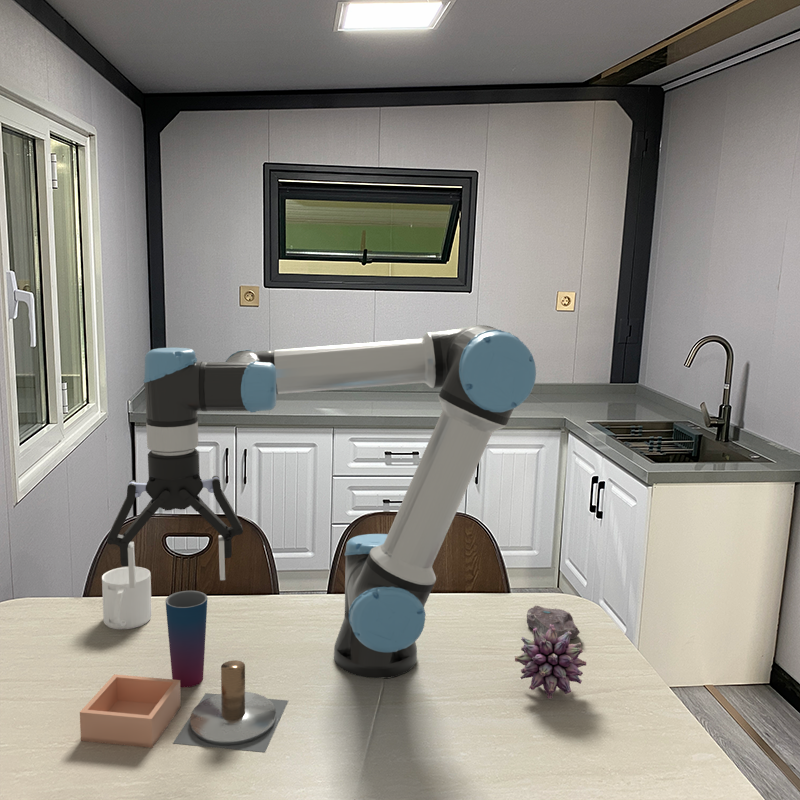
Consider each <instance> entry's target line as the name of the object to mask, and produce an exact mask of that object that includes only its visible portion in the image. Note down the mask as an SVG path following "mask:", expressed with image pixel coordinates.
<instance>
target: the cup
mask: <svg viewBox="0 0 800 800" xmlns="http://www.w3.org/2000/svg"><path fill="white" fill-rule="evenodd" d="M207 611H208V596H207V594H206V593H204V592H201V591H199V590H183V591H178V592H174V593H172V594H170V595H169V596H167V597H166V598H165V612H166V621H167V622H166V623H167V635H168V643H169V644H168V645H169V647H168V648H169V655H170V667H171V679H173V680H180V688H192V687H195V686H198V685H200V684H201V683H202V682H203V680H204V671H205V653H206V652H205V651H206V634H207V630H206V629H207V615H208V612H207Z"/></svg>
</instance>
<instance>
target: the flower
mask: <svg viewBox="0 0 800 800" xmlns="http://www.w3.org/2000/svg"><path fill="white" fill-rule="evenodd" d="M532 633H533V640H532V639H528V638H525V637H523V636H521V639H520V640H521V641H522V642H523V645H522V646H521V648H520V651H522V652H523V653H522V654H520V655H514V662H517V663H518V662H519V664H521V665H523V666H524V667H523V668H522V669H520V672H521V674H522V675H521V676H520V679H521V680H523V679H527V678H528V679H529V678H531V682H530V686H529V687H528V689H529V690H531V691H533V690H535V689H536V688H539V687H541V686H543V689H544V693H545V694H546V698H547V699H548V700H549V699H551V700H552V699H553V695H554V693H555V692H556V690H557V688H558V689H559V690H561V691H563V694H566V695H567V694H569V693H571V692H572V689H571V685H570V684H571V683H570V682H573V683H574V682H576V683H578V684H582V682H583V680H582V679H581V678H580V677H581V676H582V675H583V671H581V670H580V669H579V668H581V667H584V666H587V661H585V660H583V659H580V658H579V656H580V655H581V654H582V653H583V652H584V651H583V648H582V643H581V642H578V643H570V641H571V639H570V636H571V634H572V633H571V632H569V631H568V632H566V633H565V634H564V635H562V636H560V637H559V638H558V637H557V633H556V629H555V628H554V625H551V624H550V628H549V630H548V631H547V633H546V637H545V635H544V634H542V633H541V632H539V631H538V629H537V628H535V629H532Z"/></svg>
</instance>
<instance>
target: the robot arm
mask: <svg viewBox="0 0 800 800" xmlns="http://www.w3.org/2000/svg"><path fill="white" fill-rule="evenodd" d="M536 368H537V366H536V361H535V359H534V357H533V354H532V352H531V350H530V349H529V347H528V346H527V345H526V344H525V343H524V342H523V341H521V339H520V338H519V337H518V336H516V335H514V334H513V333H511V332H507V331H504V330H501V329H498V328H496V327H494V326H493V327H492V326H489V325H484V324H483V325H482V324H481V325H480V324H476V325H469V326H465V327H464V326H463V327H459V328H454V329H448V330H447V329H446V330H437V331H430V332H429V331H427V332H426V333H425V334H424V335H423V336H422V337H421V338H413V339H402V340H399V339H398V340H390V341H389V340H386V341H376V342H373V341H372V342H363V343H359V342H358V343H351V344H350V343H348V344H335V345H321V346H307V347H294V348H283V349H273V350H258V351H256V350H251V349H242V350H238V351H236V352H234V353H232V354H230V356H228V357H227V359H225V361H220V362H219V361H218V362H217V361H215V362H214V361H213V362H207V361H198V358H197V356H196V352H195V350H194V349H192V348H189V347H158V348H154V349H151V350H149V351H148V352H146V354H145V356H144V379H143V383H144V384H143V385H144V398H145V399H144V401H145V409H146V410H145V412H146V413H145V414H146V417H145V418H146V423H145V424H146V428H145V429H146V442H147V443H146V444H147V445H146V448H147V449H149V450H150V451H149V452H148V453H147V467H148V468H147V470H148V472H147V473H148V480H147V482H137V481H136V480H134V479H133V480H129V482H128V484H127V490H126V497H125V498H124V501H123V504H122V505H121V508H120V509H119V512H118V513H117V516H116V518H115V520H114V522H113V524H112V526H111V528H110V530H109V532H108V534H107V538H106V543H107V544H108V545H116V546H117V547H119V553H120V554H119V555H120V565H121V567H129V587H130V588H135V583H136V575H135V567H136V561H135V559H136V557H135V542H134V541H133V539H134V538H135V537H136V536H137V535H138V533H139V532H141V530H142V529H143V527H144V526H145V525H146V524H147V522H148V521H149V520H150V519H151V518H152V517H153V515H155V514H156V512H157V511H158V510H159V509H162V510H164V511H172V510H175V509H177V510H186V509H188V508H189V507H191V508H192V509H194V511H195V512H197V513H198V514H199V515H200V516H201V517H202V518H203V519H204V520H205V521H207V523H208V524H209V525H210V526H211V527H212V528H213V529H214V530H215V531H217V533H218V534H219V535H218V562H219V563H218V564H219V569H218V570H219V581H226V564H225V562H226V561H225V560H226V559H230V558H232V555H233V554H232V553H233V549H232V547H233V546H232V541H233V538H234V537H236V536H240V535H242V534H243V533H244V531H243V525H242V522H241V521H240V519H239V518H238V516H237V514H236V512H235V510H234V509H233V508H232V505H231V503H230V502H229V500H228V498H227V496H226V495H225V493H224V492H223V490H222V488H221V480H220V479H221V478H220V476H218V475H213V476H212V477H211V478H208V479H206V478H205V479H202V478H201V476H200V453H199V450H198V449H197V447H198V446H199V421H198V417H199V416H198V412H250V413H256V412H267V411H272V410H273V409H274V408H276V405H277V395H282V394H295V393H308V392H321V391H333V390H334V391H335V390H347V389H357V388H358V389H359V388H360V389H361V388H373V387H388V386H399V385H412V384H425V385H427V386H428V387H429V388H430V389H435V388H436V389H438V388H441V389H440V392H439V394H438V396H437V398H438V401H439V404H440V406H441V414H440V415H439V417H438V419H437V421H436V425H435V427H434V429H433V431H432V434H431V436H430V438H429V440H428V443H427V444H426V448H425V449H424V451H423V454H422V456H421V458H420V461H419V463H418V465H417V468H416V470H415V472H414V474H413V477H412V479H411V481H410V484H409V486H408V488H407V489H406V492H405V494H404V497H403V499H402V502H401V503H400V506H399V508H398V510H397V513H396V515H395V517H394V520H393V522H392V524H391V526H390V529H389V531H388V533H367V534H359V535H356V536H353V537H351V538H350V539H349V540H348V541H347V542H346V544H345V545H346V546H345V552H344V556H345V568H344V569H345V576H344V577H345V578H344V580H345V582H344V618H343V622H342V624H341V627H340V629H339V631H338V634H337V638H336V640H335V643H334V647H333V660H334V662H335V664H336V665H337V666H338V667H339V668H340V669H342V670H343V671H344V672H347V674H348V673H349V674H351V675H354V676H359V677H363V678H370V679H372V678H374V679H376V678H377V679H381V678H382V679H390V678H394V677H397V676H400V675H403V674H405V673H407V672H409V671H410V670H411V669H413V667H414V666H415V665H416V664H417V660H418V659H417V656H418V646H417V642H416V641H418V639H419V638H420V636H421V634H422V633H423V631H424V628H425V622H426V610H425V605H426V603H427V601H428V599H429V596H430V595H431V592H432V590H433V587H434V585H435V583H436V581H437V576H436V574H435V571H434V569H433V565H434V562H435V560H436V558H437V556H438V554H439V552H440V549H441V547H442V545H443V542H444V540H445V538H446V536H447V533H448V531H449V529H450V527H451V525H452V522H453V521H454V518H455V516H456V514H457V512H458V509H459V506H460V505H461V503H462V500H463V498H464V496H465V494H466V491H467V489H468V487H469V485H470V483H471V480H472V478H473V476H474V475H475V471H476V469H477V467H478V465H479V463H480V461H481V458H482V456H483V454H484V451H485V450H486V448H487V446H488V444H489V441H490V439H491V436H492V434H493V433H494V432H497V431H499V430H502V429H503V428H506V427H507V424H508V422H509V420H510V419H511V415H512V413H513V411H514V409H516V408H517V407H518V406H520V405H521V404H523V403H524V402H525V401H526V399H528V398H529V397H530V395H531V393H532V390H533V388H534V386H535V383H536V377H537V369H536ZM203 488H204V489H207V491H208V492H209V493H210V494H213V496H214V499H215V500H216V501H217V504H218V505H219V507H220V508H221V511H222V512H223V514H224V516H225V518H226V519H227V521H228V523H229V524H230V525H231V526H228V525H227V524H226V523H225V522H224V521H223V520H222V519H221V517H219V516H218V515H217V514H216V513H215V512H214V511H213V510H212V509H211V507H209V506H208V505H207V504H206V503H205V502H204V501H203V499H202V498H201V497H200V496H199V494H200V493H201V491H203ZM143 492H146V493H147V495H148V496H149V497H150V498H151V499H150V501H149V502H148V503H147V505H146V506H145V508H143V510H142V511H141V512H140V514H139V515H138V516H137V517H136V518H135V519H134V520H133V522H132V523H131V524H130V526H129V527H128V528H127V529H126V531H124V533H123V534H120V532H121V531H122V528H123V526H124V524H125V522H126V520H127V518H128V515H129V513H130V511H131V510H132V508H133V506H134V505H133V504H134V503H135V499H136V498H140V497H141V495H142V493H143Z"/></svg>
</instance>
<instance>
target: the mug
mask: <svg viewBox="0 0 800 800" xmlns="http://www.w3.org/2000/svg"><path fill="white" fill-rule="evenodd" d="M151 573H152V572H151V571H150V570H149V569H148V568H145V567H141V566H135V575H136V583H135V588H130V587H129V566H123V567H122V566H121V567H117V568H113V569H111V570H108V571H106V572H104V573H103V575H101V584H102V585H101V586H102V587H101V589H102V590H101V591H102V617H103V623H104V625H105V626H106V627H108V628H110V629H113V630H131V629H135V628H140V627H141V626H144V625H145V624H147V623H148V622H149V621H150V620H151V618H152V616H153V615H152V584H151V583H152V582H151V579H152V576H151Z"/></svg>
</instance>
